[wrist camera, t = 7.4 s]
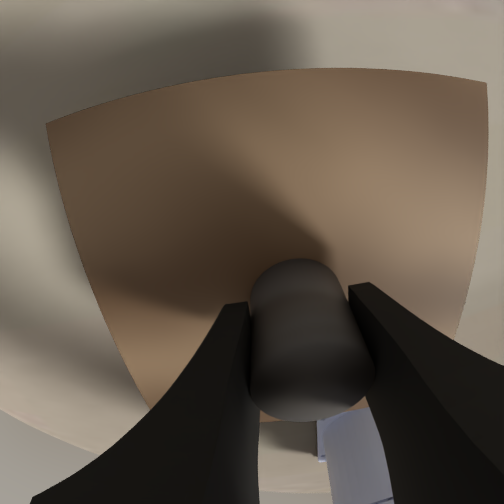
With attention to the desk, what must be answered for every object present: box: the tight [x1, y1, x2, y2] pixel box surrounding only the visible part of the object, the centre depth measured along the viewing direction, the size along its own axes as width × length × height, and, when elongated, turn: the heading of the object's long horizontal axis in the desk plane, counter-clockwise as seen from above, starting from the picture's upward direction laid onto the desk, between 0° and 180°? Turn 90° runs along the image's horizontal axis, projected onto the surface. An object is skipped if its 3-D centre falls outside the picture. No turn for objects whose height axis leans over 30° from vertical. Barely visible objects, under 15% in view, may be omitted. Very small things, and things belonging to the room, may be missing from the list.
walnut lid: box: [46, 68, 488, 422], centre depth 8 cm, size 13×13×4 cm
